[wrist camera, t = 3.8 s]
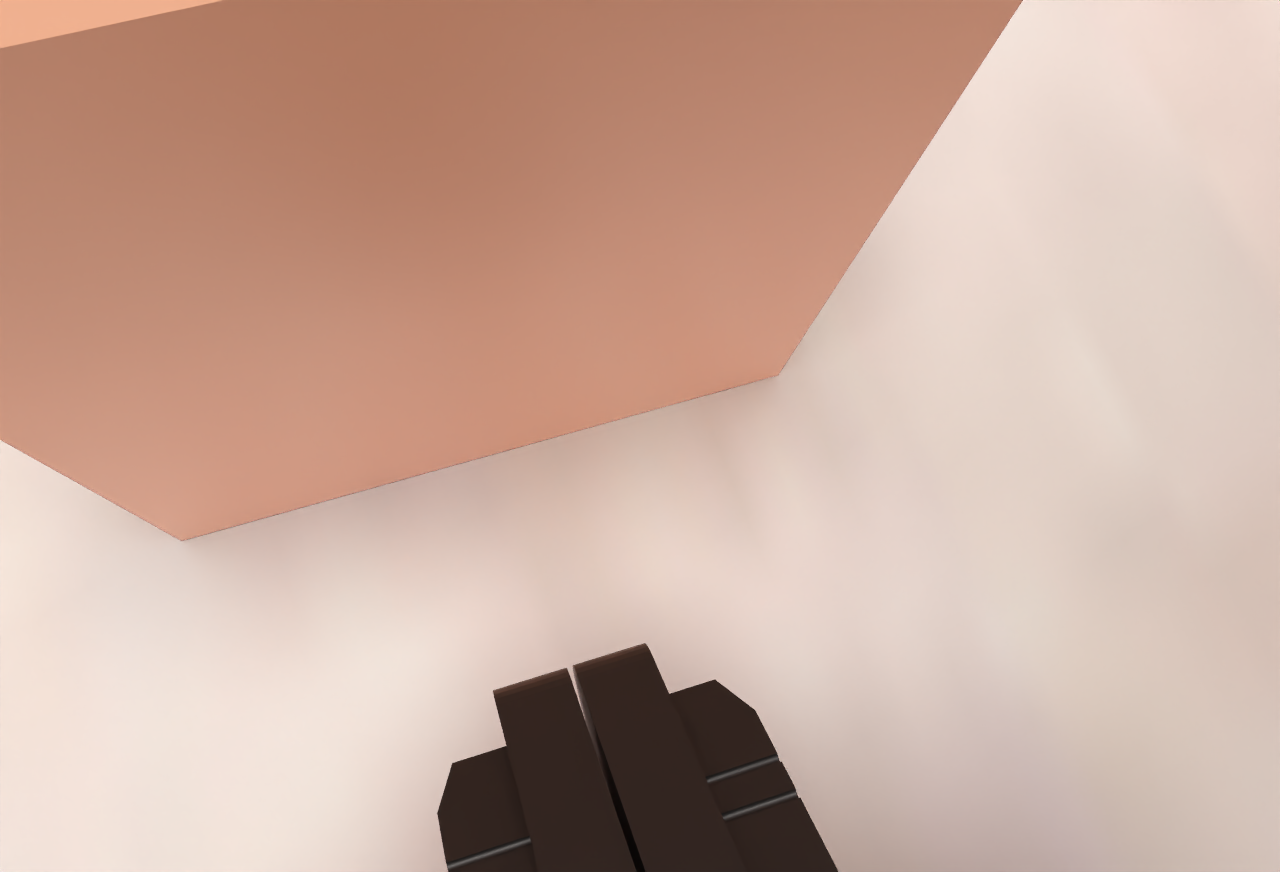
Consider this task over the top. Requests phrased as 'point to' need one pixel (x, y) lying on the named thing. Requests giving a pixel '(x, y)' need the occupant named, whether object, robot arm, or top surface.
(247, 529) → the top surface
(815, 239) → the tile
